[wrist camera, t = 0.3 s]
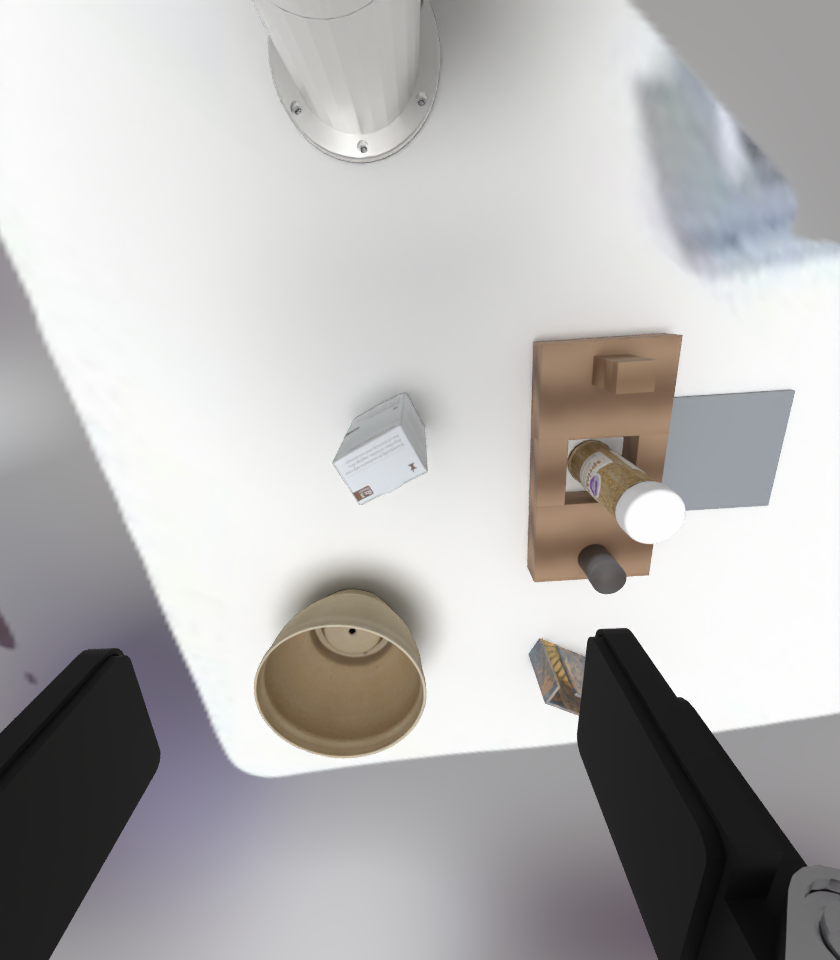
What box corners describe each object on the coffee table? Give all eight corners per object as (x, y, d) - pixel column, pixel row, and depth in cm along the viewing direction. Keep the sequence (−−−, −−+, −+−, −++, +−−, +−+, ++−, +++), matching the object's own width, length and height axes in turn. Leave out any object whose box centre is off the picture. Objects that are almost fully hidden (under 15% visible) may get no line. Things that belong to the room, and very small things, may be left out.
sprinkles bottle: (563, 446, 45) (622, 499, 32) (609, 434, 44) (686, 483, 32) (570, 486, 46) (629, 552, 34) (614, 475, 46) (690, 538, 33)
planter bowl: (452, 613, 52) (461, 687, 42) (366, 695, 56) (356, 781, 46) (340, 534, 48) (320, 594, 38) (257, 629, 52) (220, 706, 42)
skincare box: (404, 389, 42) (401, 418, 31) (427, 429, 44) (432, 471, 33) (349, 420, 43) (327, 459, 32) (373, 458, 45) (360, 508, 34)
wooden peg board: (533, 341, 41) (560, 348, 34) (664, 333, 41) (720, 338, 33) (527, 566, 50) (547, 612, 42) (635, 560, 49) (675, 604, 42)
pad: (666, 397, 43) (669, 398, 43) (791, 389, 43) (795, 390, 42) (651, 510, 47) (653, 512, 47) (764, 503, 47) (768, 505, 47)
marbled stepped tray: (618, 664, 55) (659, 733, 46) (605, 681, 56) (642, 753, 47) (540, 633, 53) (566, 699, 44) (527, 651, 54) (550, 719, 45)
